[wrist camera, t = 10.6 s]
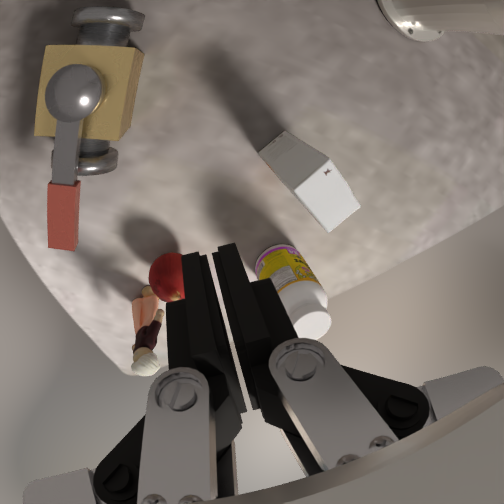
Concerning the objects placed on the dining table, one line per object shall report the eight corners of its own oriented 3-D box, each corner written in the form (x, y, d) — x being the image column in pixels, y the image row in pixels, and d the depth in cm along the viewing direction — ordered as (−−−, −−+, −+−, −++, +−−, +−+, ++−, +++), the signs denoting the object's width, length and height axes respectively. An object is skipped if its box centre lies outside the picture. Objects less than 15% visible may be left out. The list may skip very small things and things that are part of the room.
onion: (169, 286, 42) (171, 328, 36) (140, 258, 39) (136, 298, 33) (204, 263, 42) (212, 302, 35) (176, 231, 39) (178, 268, 32)
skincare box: (256, 153, 36) (291, 189, 26) (284, 129, 35) (330, 156, 25) (287, 189, 39) (328, 235, 29) (313, 166, 38) (363, 205, 28)
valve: (80, 18, 23) (56, 5, 16) (152, 21, 25) (146, 6, 19) (59, 153, 30) (32, 176, 23) (125, 159, 33) (113, 182, 26)
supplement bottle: (307, 266, 46) (347, 328, 35) (268, 291, 46) (297, 358, 36) (287, 232, 42) (328, 293, 32) (244, 259, 43) (271, 327, 32)
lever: (59, 63, 19) (50, 63, 17) (110, 66, 21) (105, 65, 19) (45, 235, 26) (38, 247, 24) (89, 240, 28) (84, 253, 26)
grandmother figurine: (140, 276, 40) (134, 348, 30) (167, 284, 42) (170, 356, 32) (126, 318, 43) (121, 389, 33) (151, 324, 45) (152, 396, 34)
